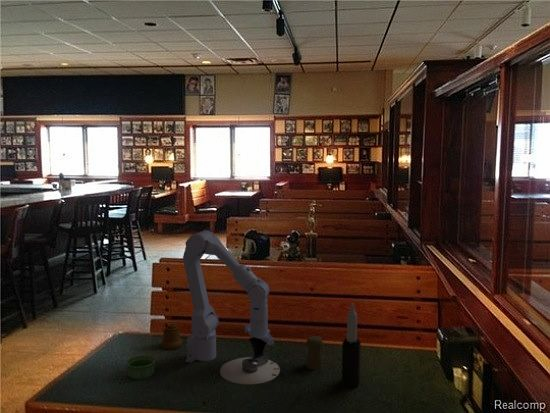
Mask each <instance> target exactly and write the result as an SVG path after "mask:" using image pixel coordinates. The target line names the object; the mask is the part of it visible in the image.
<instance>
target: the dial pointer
mask: <svg viewBox="0 0 550 413" xmlns="http://www.w3.org/2000/svg"><path fill="white" fill-rule="evenodd" d="M251 357H252V358H248V359H244V360H243V361H242V370H243V371H244V372H255V371H257V370H258V367H259V366H261V365H263V364H265V363H267V362H268V360H269V353H268V352H266V351H263V353H261V354H259V355H256V356H251Z"/></svg>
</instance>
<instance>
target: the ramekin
mask: <svg viewBox="0 0 550 413" xmlns="http://www.w3.org/2000/svg"><path fill="white" fill-rule="evenodd" d="M155 364H156V357H154V356H153V355H148V354H141V355H140V354H139V355H136V356H132V357H130V358H128V360H126V364H125V365H126V368H127V376H128V377H129V378H130V379H133V380H145V379H147V378H151V377H152V376H153V375H154V374H155Z"/></svg>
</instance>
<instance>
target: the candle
mask: <svg viewBox="0 0 550 413" xmlns="http://www.w3.org/2000/svg"><path fill="white" fill-rule="evenodd" d="M354 305H355V303H353V302H352V303H351V304H350V309H349V311H348V312H347V316H346V318H347V319H346V320H347V322H346V323H347V326H346V338H344V340H343V341H342V350H341V353H342V355H341V359H342V360H341V385H343V386H348V387H353V388H357V387H359V385H360V382H361V351H362V350H361V349H362V348H361V346H362V343H361V342H362V341H361V340H359V339H358V335H357V334H358V332H357V331H358V313H357V312H356V310H355V307H354Z"/></svg>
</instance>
